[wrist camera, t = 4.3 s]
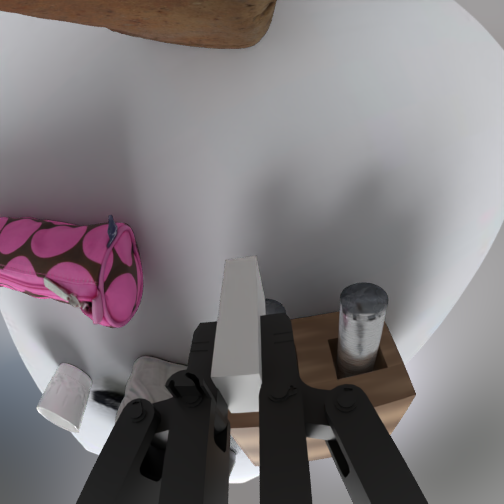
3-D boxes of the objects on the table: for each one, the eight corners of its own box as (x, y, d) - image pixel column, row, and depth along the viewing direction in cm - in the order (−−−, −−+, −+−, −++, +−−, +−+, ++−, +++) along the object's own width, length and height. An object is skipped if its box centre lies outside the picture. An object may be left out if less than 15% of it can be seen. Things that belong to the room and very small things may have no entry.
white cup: (49, 362, 36) (29, 405, 28) (71, 358, 35) (49, 408, 26) (79, 388, 40) (63, 430, 31) (103, 386, 38) (88, 434, 30)
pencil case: (144, 192, 22) (86, 255, 13) (154, 284, 27) (123, 363, 18) (-7, 198, 21) (-63, 240, 12) (13, 267, 26) (-29, 316, 17)
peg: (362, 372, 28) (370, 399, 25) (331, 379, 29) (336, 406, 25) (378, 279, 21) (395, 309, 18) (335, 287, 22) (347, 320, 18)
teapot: (174, 414, 42) (160, 507, 26) (102, 373, 36) (70, 476, 20) (244, 391, 37) (242, 513, 21) (161, 337, 31) (125, 489, 15)
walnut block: (363, 373, 35) (383, 444, 25) (254, 390, 37) (255, 466, 26) (376, 303, 28) (416, 394, 18) (232, 327, 30) (226, 428, 19)
